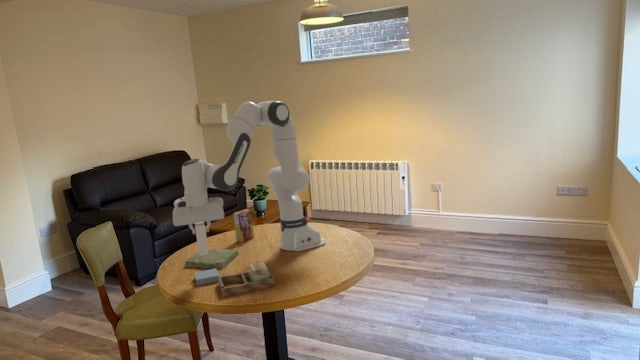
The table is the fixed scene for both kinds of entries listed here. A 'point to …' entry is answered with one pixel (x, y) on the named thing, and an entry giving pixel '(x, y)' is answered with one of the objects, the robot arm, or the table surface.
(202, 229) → the tall white box
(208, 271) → the slate plinth
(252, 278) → the block
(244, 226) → the candy box
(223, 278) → the walnut rack
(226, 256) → the decorative tile
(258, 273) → the offcut top
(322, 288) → the table surface
